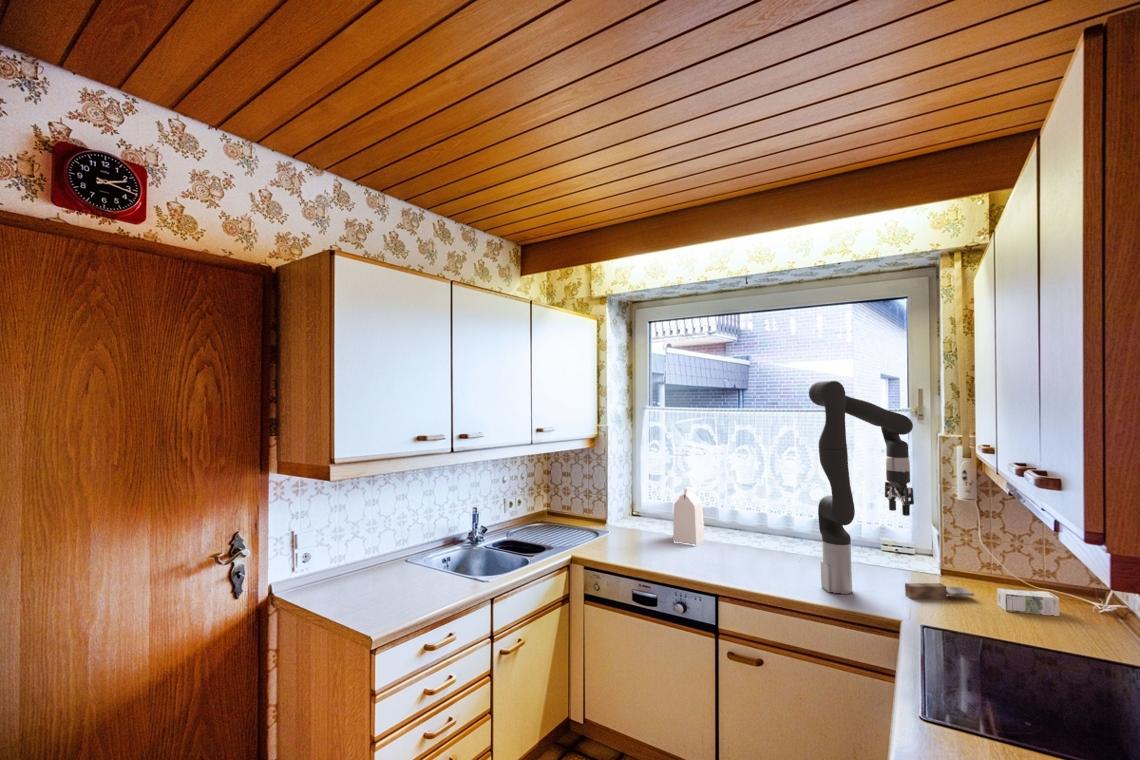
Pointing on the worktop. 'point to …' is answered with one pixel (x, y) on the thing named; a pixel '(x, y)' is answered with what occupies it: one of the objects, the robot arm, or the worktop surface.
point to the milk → (688, 518)
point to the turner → (933, 591)
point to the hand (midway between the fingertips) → (899, 512)
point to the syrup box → (1028, 601)
